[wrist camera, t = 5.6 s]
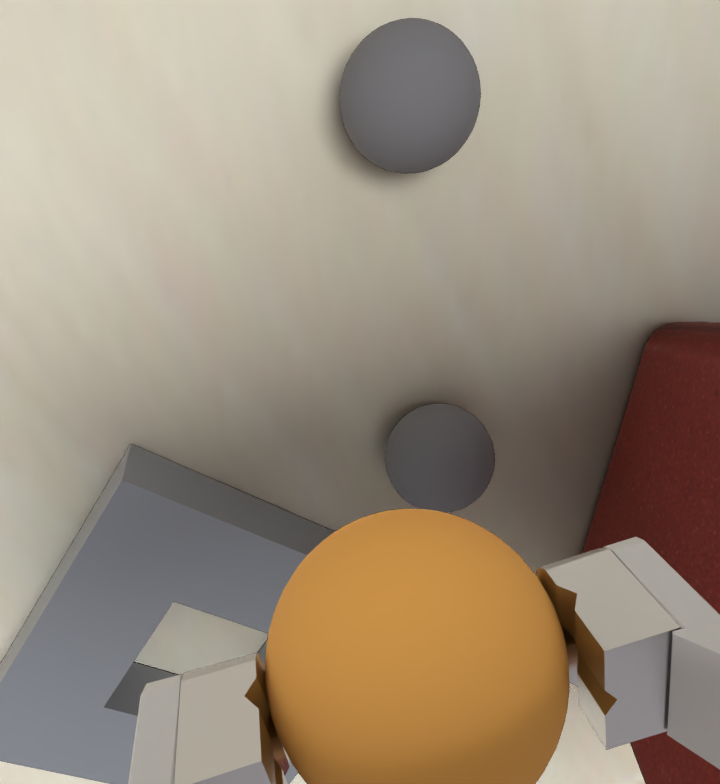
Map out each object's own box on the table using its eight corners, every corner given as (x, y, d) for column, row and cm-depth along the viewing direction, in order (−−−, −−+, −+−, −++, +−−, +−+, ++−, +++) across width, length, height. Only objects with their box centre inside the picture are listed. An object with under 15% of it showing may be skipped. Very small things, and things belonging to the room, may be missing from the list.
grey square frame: (412, 565, 27) (430, 605, 25) (260, 763, 30) (264, 815, 28) (130, 443, 22) (122, 480, 20) (-19, 695, 25) (-42, 752, 23)
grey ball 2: (489, 414, 25) (535, 464, 21) (432, 491, 26) (467, 550, 22) (412, 369, 23) (448, 414, 20) (354, 452, 24) (379, 509, 21)
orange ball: (539, 516, 11) (705, 722, 7) (405, 680, 11) (491, 937, 8) (346, 414, 9) (432, 611, 5) (210, 613, 10) (204, 895, 6)
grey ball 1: (475, 83, 20) (533, 76, 16) (404, 192, 21) (444, 208, 17) (376, -3, 18) (415, -32, 15) (304, 119, 19) (325, 120, 16)
